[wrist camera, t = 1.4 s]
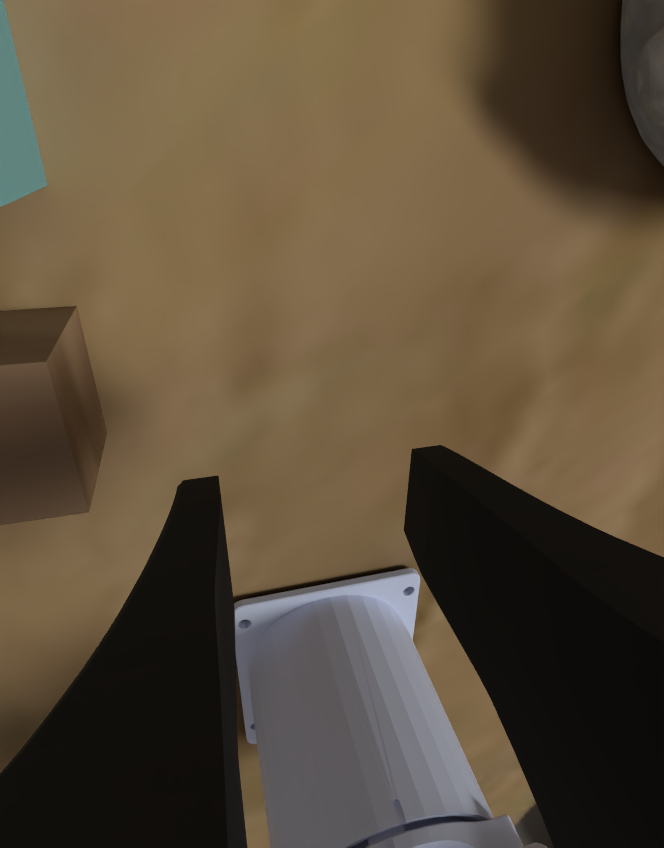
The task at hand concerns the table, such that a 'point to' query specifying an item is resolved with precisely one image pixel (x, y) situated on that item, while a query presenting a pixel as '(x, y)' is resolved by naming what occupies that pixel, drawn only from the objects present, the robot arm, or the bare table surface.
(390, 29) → the table surface
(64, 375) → the block walnut
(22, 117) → the block teal
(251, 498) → the table surface
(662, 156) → the dish
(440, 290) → the table surface
